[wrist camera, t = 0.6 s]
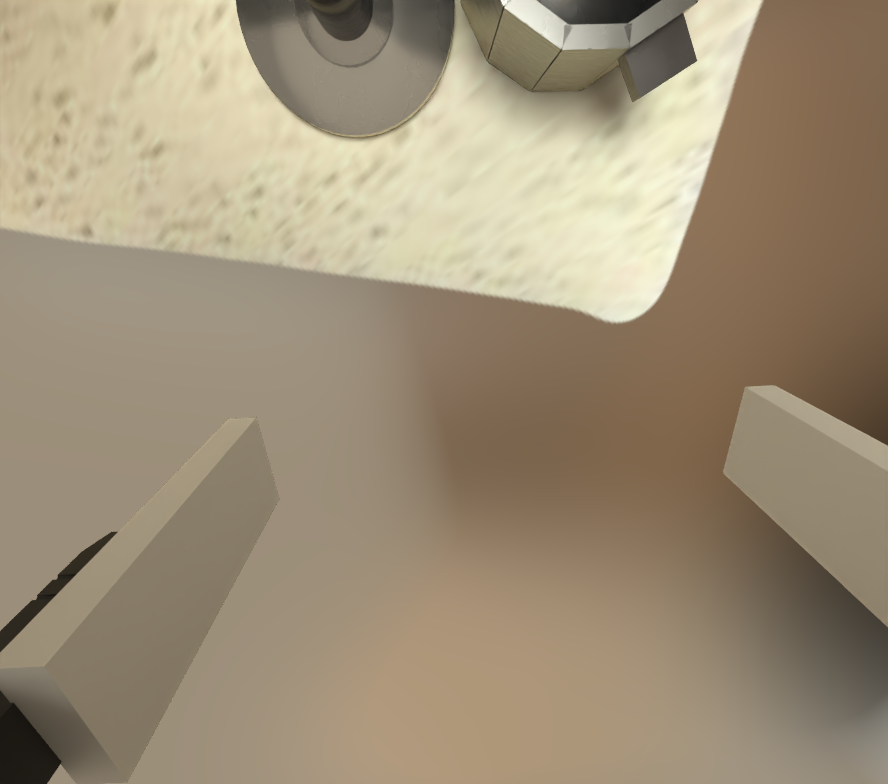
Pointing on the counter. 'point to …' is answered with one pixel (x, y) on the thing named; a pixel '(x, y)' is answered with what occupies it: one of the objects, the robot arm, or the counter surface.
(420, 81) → the lid
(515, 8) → the pot
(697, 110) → the counter surface
